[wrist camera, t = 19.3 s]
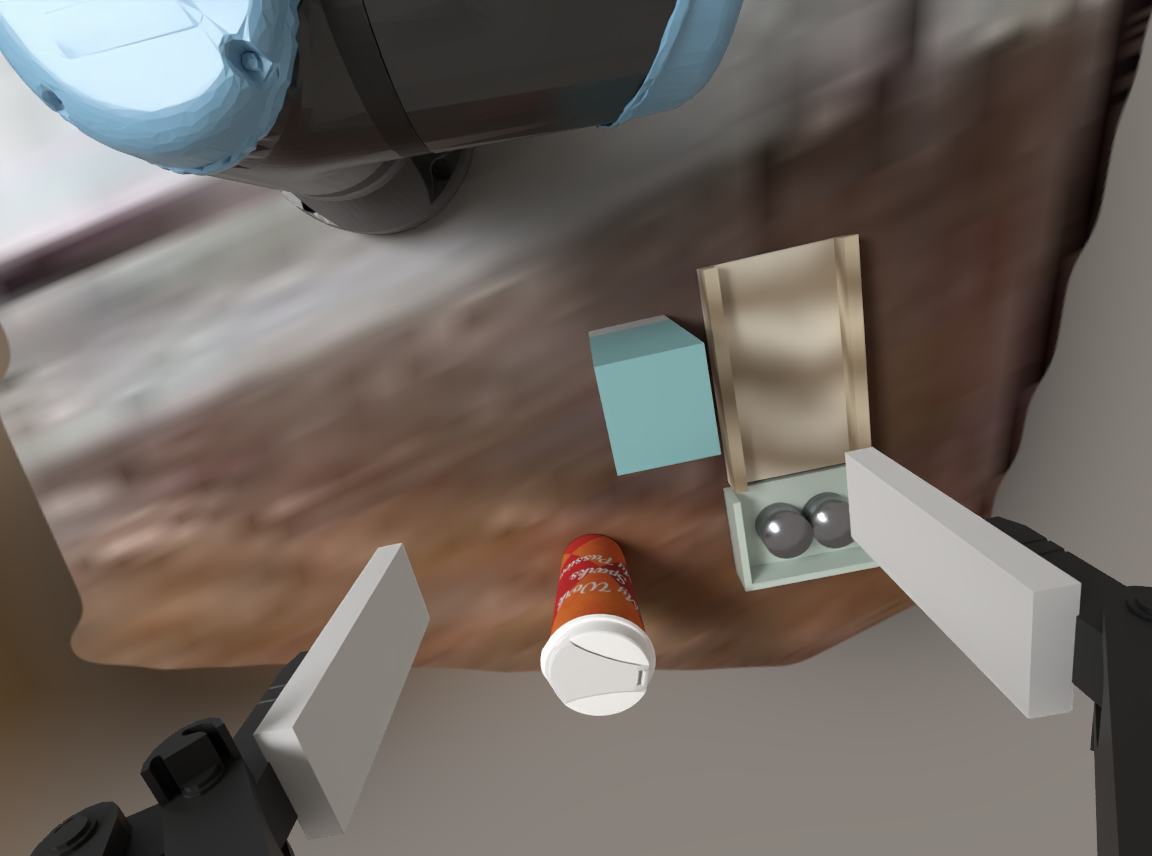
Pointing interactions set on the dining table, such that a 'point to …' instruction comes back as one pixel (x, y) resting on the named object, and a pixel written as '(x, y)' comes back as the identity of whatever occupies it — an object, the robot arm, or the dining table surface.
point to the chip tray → (796, 490)
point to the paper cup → (597, 632)
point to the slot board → (788, 358)
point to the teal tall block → (654, 394)
